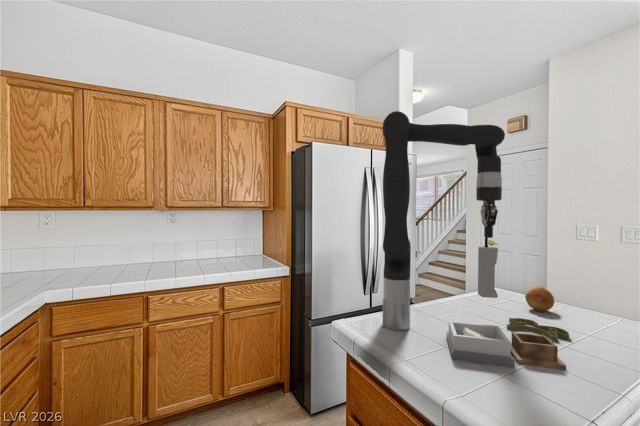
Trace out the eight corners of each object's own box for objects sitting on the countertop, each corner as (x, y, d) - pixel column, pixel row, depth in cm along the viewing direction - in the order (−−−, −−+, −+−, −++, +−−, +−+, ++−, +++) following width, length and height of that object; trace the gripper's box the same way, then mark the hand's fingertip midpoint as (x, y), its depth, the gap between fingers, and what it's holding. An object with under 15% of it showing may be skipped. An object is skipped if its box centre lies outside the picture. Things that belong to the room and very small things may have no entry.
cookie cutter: (500, 328, 106) (500, 323, 106) (512, 321, 114) (512, 315, 114) (565, 346, 93) (565, 339, 93) (573, 335, 101) (573, 329, 101)
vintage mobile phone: (497, 298, 100) (498, 223, 100) (481, 297, 101) (482, 223, 101) (493, 295, 104) (494, 222, 104) (477, 294, 105) (478, 222, 105)
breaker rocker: (464, 336, 87) (467, 331, 87) (462, 331, 91) (464, 326, 91) (490, 348, 85) (492, 343, 85) (486, 342, 89) (488, 338, 89)
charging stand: (517, 363, 81) (517, 344, 81) (505, 345, 92) (505, 329, 92) (566, 369, 78) (566, 350, 78) (547, 350, 88) (547, 333, 88)
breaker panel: (452, 359, 83) (452, 337, 83) (446, 337, 98) (446, 319, 98) (514, 367, 79) (514, 344, 79) (498, 343, 93) (498, 324, 93)
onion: (520, 306, 131) (520, 283, 131) (545, 307, 130) (545, 284, 130) (532, 313, 121) (533, 289, 121) (560, 315, 120) (560, 290, 120)
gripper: (472, 188, 110) (472, 235, 110) (480, 185, 97) (480, 238, 97) (496, 187, 108) (495, 236, 108) (507, 184, 95) (506, 239, 95)
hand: (488, 237), depth 102 cm, fingers closed on vintage mobile phone, 1 cm apart
